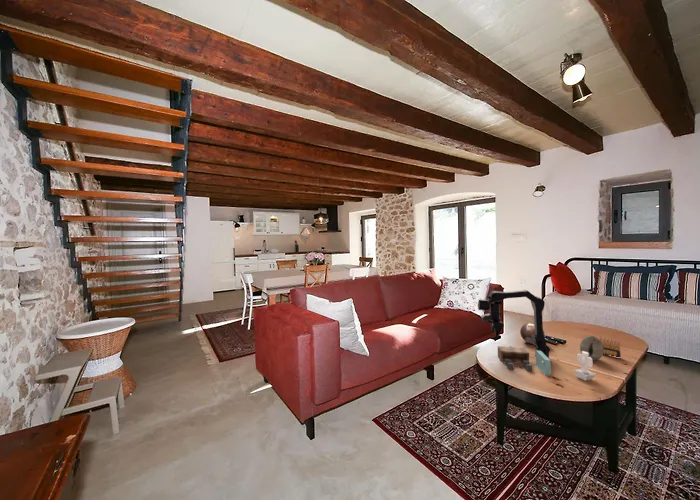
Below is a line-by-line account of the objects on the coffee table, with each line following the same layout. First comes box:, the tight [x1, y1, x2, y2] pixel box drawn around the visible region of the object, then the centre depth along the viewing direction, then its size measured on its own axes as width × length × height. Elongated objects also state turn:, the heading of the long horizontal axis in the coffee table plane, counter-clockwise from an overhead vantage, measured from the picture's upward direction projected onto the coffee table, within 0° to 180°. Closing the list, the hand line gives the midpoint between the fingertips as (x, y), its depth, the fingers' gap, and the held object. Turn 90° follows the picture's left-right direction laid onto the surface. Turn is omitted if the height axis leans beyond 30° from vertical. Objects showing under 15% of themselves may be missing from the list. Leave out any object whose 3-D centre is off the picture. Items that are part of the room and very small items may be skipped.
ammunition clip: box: [599, 336, 621, 357], centre depth 189 cm, size 11×2×12 cm, turn 41°
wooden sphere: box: [519, 322, 545, 345], centre depth 213 cm, size 15×15×15 cm
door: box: [535, 349, 552, 377], centre depth 173 cm, size 14×4×9 cm, turn 167°
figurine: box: [572, 351, 597, 382], centre depth 161 cm, size 7×9×15 cm
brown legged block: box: [497, 345, 534, 372], centre depth 181 cm, size 16×18×7 cm
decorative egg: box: [579, 335, 604, 361], centre depth 184 cm, size 12×12×15 cm
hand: (494, 333), depth 194 cm, fingers open, 9 cm apart
